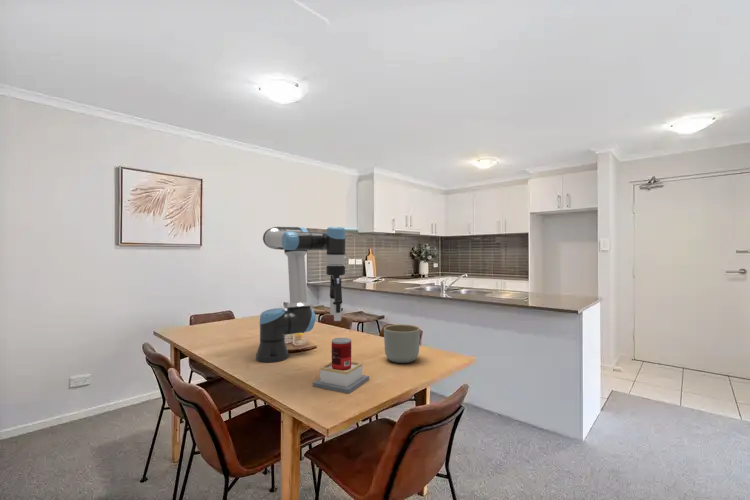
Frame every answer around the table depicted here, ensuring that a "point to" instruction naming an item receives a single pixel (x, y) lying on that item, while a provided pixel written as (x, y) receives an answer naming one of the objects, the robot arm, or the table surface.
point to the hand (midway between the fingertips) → (335, 317)
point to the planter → (401, 342)
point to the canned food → (341, 353)
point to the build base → (341, 388)
